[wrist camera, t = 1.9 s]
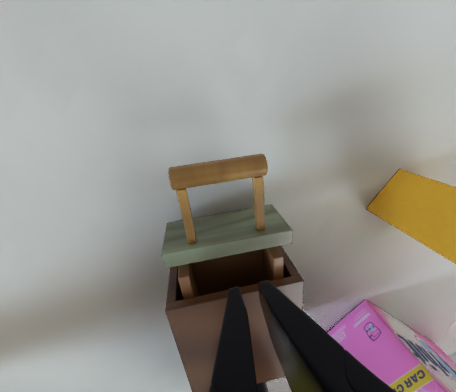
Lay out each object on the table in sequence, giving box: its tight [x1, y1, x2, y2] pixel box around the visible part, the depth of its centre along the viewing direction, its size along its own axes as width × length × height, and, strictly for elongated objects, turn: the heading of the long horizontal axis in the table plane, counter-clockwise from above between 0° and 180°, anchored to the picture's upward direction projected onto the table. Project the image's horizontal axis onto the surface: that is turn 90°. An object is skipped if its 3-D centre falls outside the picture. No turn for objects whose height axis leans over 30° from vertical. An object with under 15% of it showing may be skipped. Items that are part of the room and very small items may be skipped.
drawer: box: [162, 154, 292, 299], centre depth 18 cm, size 17×9×4 cm, turn 6°
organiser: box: [165, 246, 304, 392], centre depth 21 cm, size 12×10×6 cm
